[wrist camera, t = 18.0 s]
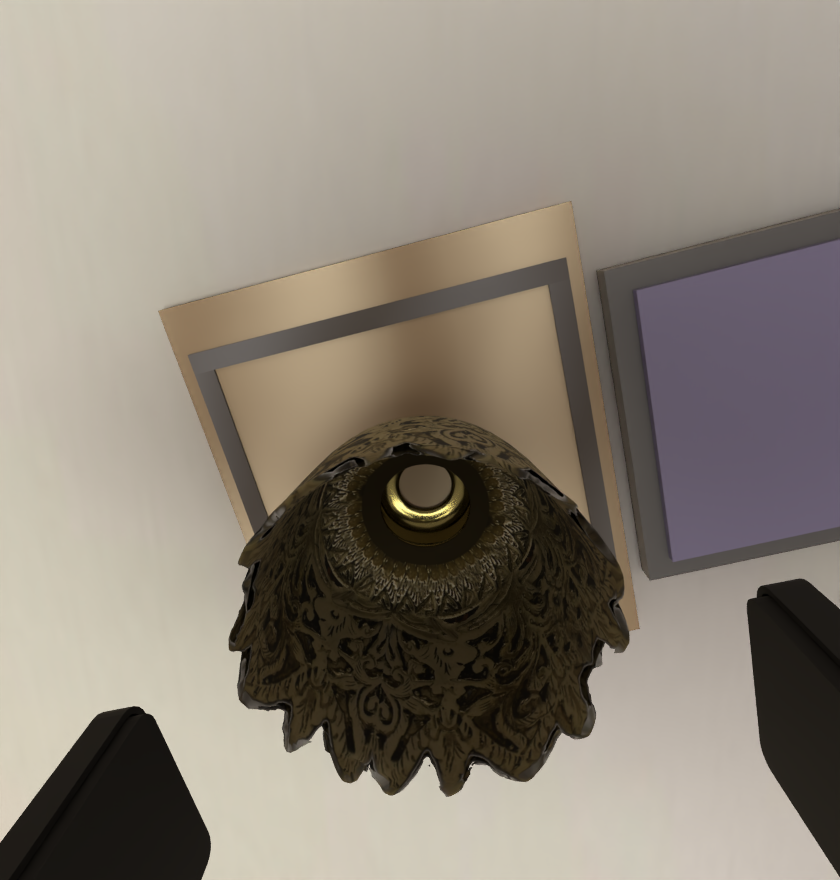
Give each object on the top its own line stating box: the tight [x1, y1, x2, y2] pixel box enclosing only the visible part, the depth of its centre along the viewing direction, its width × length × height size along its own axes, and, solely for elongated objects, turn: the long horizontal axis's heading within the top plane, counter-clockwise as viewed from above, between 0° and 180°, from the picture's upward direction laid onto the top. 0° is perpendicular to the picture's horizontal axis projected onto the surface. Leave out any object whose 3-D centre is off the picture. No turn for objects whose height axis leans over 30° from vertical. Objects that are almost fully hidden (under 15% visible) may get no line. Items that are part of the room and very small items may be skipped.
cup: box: [229, 416, 629, 797], centre depth 14 cm, size 8×7×8 cm
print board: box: [158, 201, 640, 631], centre depth 18 cm, size 12×14×1 cm
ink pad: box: [597, 208, 840, 580], centre depth 17 cm, size 10×10×1 cm
